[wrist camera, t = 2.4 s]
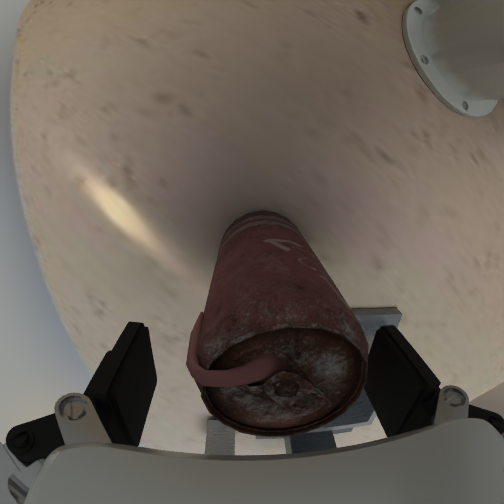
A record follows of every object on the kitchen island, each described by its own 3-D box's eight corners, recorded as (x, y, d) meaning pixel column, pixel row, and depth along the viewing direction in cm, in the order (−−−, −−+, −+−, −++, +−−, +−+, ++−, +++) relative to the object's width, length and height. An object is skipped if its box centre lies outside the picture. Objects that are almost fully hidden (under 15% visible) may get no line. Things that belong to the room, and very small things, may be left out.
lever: (208, 419, 27) (202, 472, 20) (235, 421, 27) (234, 474, 20) (209, 437, 28) (205, 485, 21) (234, 438, 28) (233, 487, 22)
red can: (221, 204, 20) (178, 305, 7) (308, 215, 20) (406, 320, 7) (214, 281, 22) (183, 436, 9) (294, 289, 22) (343, 439, 9)
